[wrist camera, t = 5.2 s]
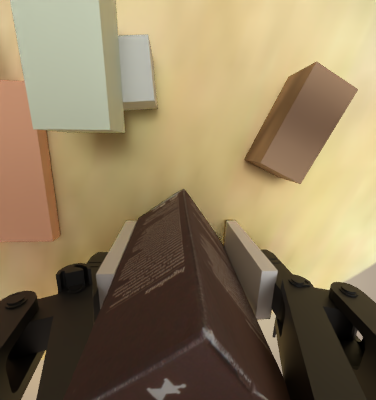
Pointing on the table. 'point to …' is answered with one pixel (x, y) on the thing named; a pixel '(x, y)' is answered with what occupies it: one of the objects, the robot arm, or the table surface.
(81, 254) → the table surface
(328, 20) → the table surface
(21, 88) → the tile
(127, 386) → the box
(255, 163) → the walnut brick
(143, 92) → the grey brick
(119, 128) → the pale green brick
